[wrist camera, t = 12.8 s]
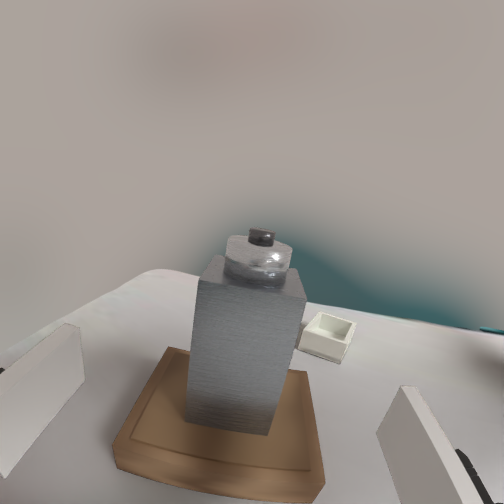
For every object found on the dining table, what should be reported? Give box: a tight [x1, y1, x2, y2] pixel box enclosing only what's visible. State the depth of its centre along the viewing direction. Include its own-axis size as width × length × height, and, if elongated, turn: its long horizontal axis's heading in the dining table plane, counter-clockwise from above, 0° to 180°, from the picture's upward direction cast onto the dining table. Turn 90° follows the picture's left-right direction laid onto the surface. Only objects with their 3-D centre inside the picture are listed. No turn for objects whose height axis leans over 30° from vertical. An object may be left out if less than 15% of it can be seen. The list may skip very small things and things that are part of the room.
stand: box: [112, 346, 326, 503], centre depth 22 cm, size 14×14×3 cm
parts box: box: [298, 312, 357, 364], centre depth 41 cm, size 8×6×3 cm
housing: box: [184, 228, 307, 436], centre depth 20 cm, size 6×6×14 cm
